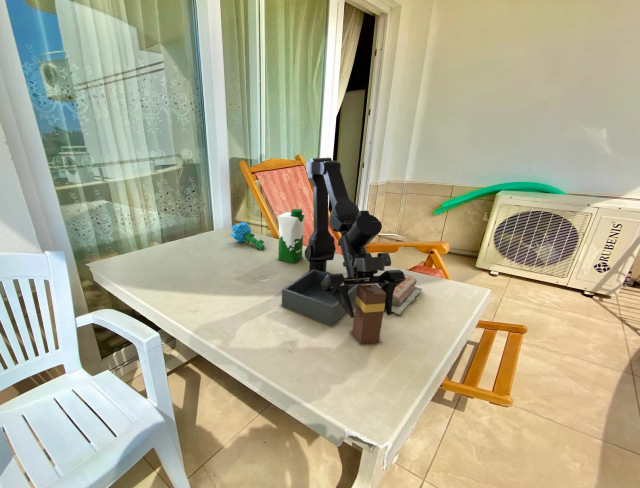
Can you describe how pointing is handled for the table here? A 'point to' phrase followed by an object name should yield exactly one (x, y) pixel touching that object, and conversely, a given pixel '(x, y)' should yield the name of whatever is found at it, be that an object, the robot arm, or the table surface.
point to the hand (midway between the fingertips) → (371, 316)
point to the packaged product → (404, 294)
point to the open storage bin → (315, 298)
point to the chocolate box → (368, 313)
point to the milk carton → (291, 235)
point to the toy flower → (245, 235)
